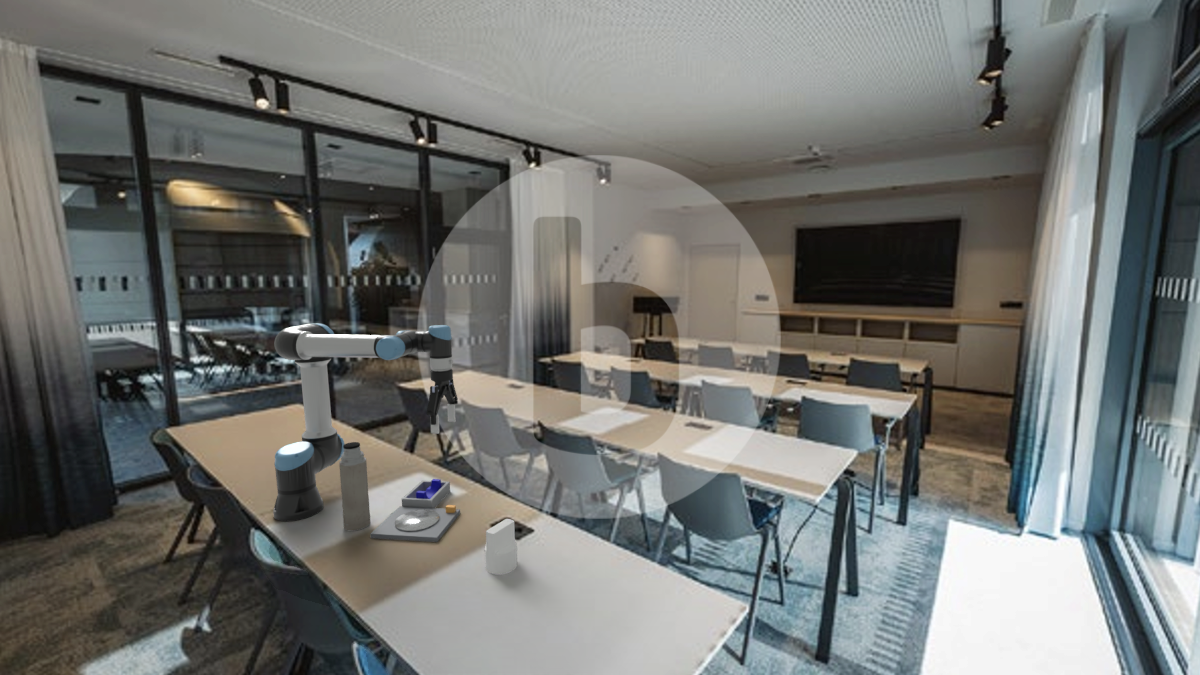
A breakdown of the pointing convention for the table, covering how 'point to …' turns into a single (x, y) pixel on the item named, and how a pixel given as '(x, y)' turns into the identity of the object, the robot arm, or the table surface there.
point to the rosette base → (416, 523)
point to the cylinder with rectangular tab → (501, 548)
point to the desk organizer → (412, 501)
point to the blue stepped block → (429, 490)
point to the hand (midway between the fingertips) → (443, 427)
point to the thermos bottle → (354, 488)
